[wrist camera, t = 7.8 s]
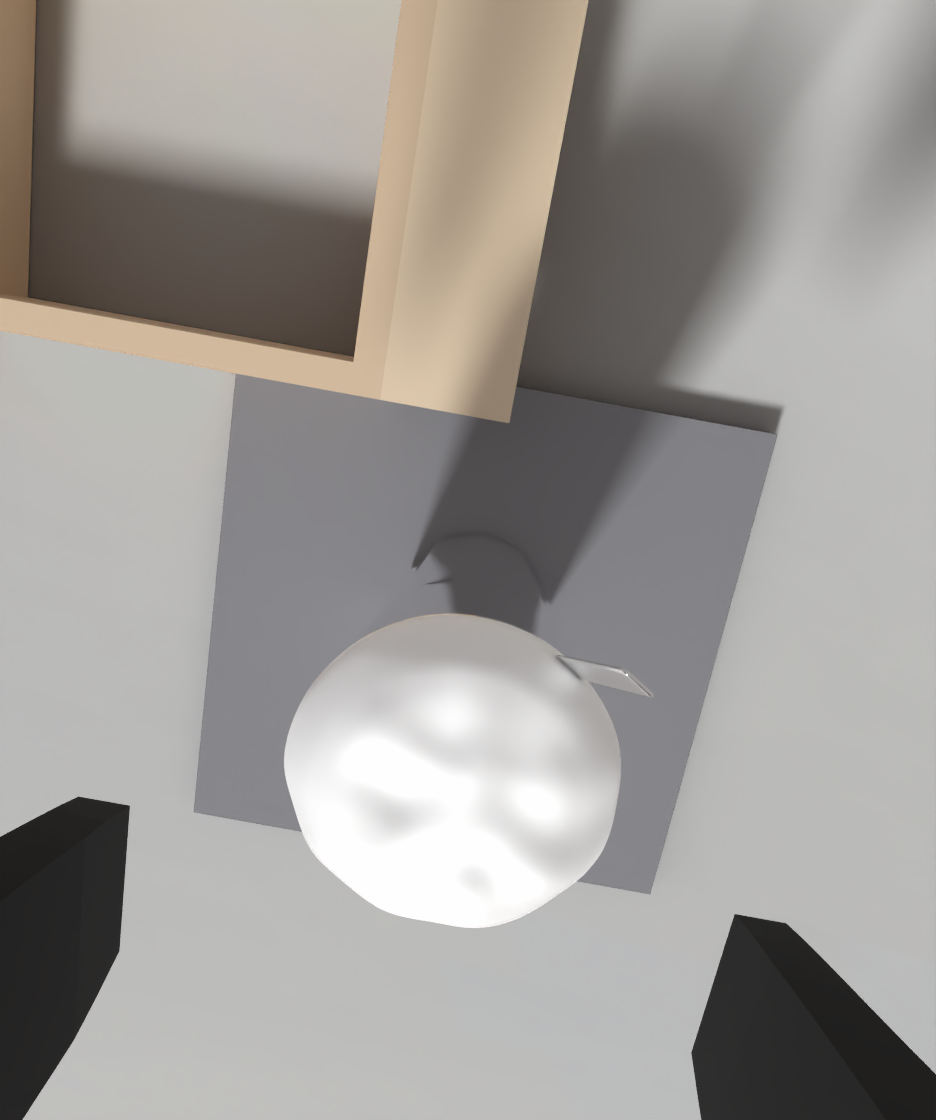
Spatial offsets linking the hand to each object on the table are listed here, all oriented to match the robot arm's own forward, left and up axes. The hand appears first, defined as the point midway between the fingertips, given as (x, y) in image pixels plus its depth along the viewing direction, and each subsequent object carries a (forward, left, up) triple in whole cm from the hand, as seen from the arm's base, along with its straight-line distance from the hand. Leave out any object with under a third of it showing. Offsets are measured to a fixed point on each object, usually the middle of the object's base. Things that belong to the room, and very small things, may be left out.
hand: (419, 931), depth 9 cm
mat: (0, 0, -10) cm, 10 cm away
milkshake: (+1, 0, -10) cm, 10 cm away
